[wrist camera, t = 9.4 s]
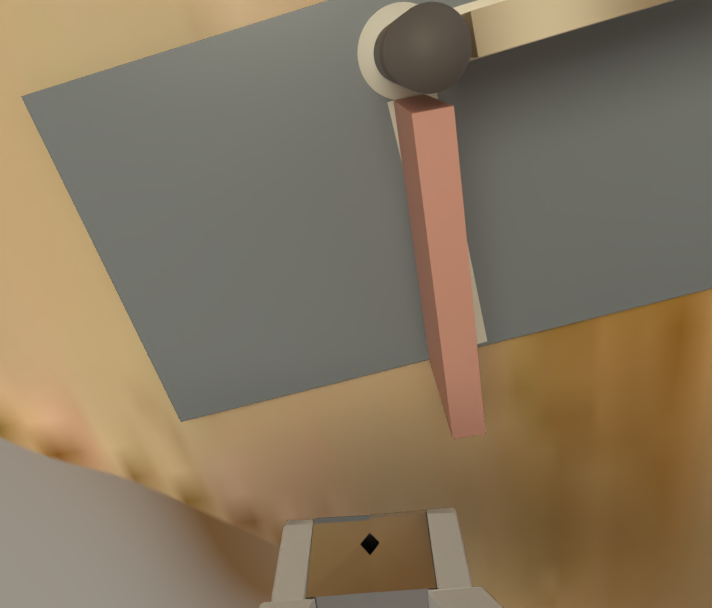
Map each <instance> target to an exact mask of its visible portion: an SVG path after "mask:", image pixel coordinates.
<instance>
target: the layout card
mask: <svg viewBox="0 0 712 608" xmlns="http://www.w3.org/2000/svg"><path fill="white" fill-rule="evenodd" d="M502 1H505V0H328V1H325V2H321V3H318V4H315V5H312V6H309V7H305V8H302V9H299V10H296V11H293V12H289V13H286V14H283V15H280V16H277V17H273V18H270V19H267V20H264V21H261V22H258V23H254V24H251V25H248V26H245V27H242V28H238V29H235V30H232V31H229V32H226V33H222V34H219V35H216V36H213V37H210V38H206V39H203V40H200V41H197V42H194V43H190V44H187V45H184V46H181V47H178V48H174V49H171V50H168V51H165V52H162V53H158V54H155V55H152V56H149V57H146V58H143V59H139V60H136V61H133V62H130V63H127V64H123V65H120V66H117V67H114V68H111V69H107V70H104V71H101V72H98V73H95V74H91V75H88V76H85V77H82V78H79V79H75V80H72V81H69V82H66V83H63V84H59V85H56V86H53V87H50V88H47V89H44V90H40V91H37V92H34V93H31V94H28V95H24V96H21V97H22V99H23V101H24V103H25V105H26V107H27V109H28V111H29V113H30V115H31V117H32V119H33V121H34V123H35V125H36V128H37V130H38V132H39V134H40V136H41V138H42V140H43V142H44V144H45V146H46V148H47V150H48V152H49V154H50V156H51V158H52V160H53V162H54V164H55V166H56V168H57V170H58V172H59V174H60V176H61V179H62V181H63V183H64V185H65V187H66V189H67V191H68V193H69V195H70V197H71V199H72V201H73V203H74V205H75V207H76V209H77V211H78V213H79V215H80V217H81V219H82V221H83V223H84V225H85V227H86V229H87V232H88V234H89V236H90V238H91V240H92V242H93V244H94V246H95V248H96V250H97V252H98V254H99V256H100V258H101V260H102V262H103V264H104V266H105V268H106V270H107V272H108V274H109V276H110V278H111V280H112V283H113V285H114V287H115V289H116V291H117V293H118V295H119V297H120V299H121V301H122V303H123V305H124V307H125V309H126V311H127V313H128V315H129V317H130V319H131V321H132V323H133V325H134V327H135V329H136V331H137V333H138V336H139V338H140V340H141V342H142V344H143V346H144V348H145V350H146V352H147V354H148V356H149V358H150V360H151V362H152V364H153V366H154V368H155V370H156V372H157V374H158V376H159V378H160V380H161V382H162V384H163V387H164V389H165V391H166V393H167V395H168V397H169V399H170V401H171V403H172V405H173V407H174V409H175V411H176V413H177V415H178V417H179V419H180V421H181V422H182V421H186V420H190V419H194V418H198V417H202V416H206V415H210V414H214V413H218V412H222V411H226V410H230V409H234V408H238V407H242V406H246V405H250V404H254V403H258V402H262V401H266V400H270V399H274V398H278V397H282V396H286V395H290V394H294V393H297V392H301V391H305V390H309V389H313V388H317V387H321V386H325V385H329V384H333V383H337V382H341V381H345V380H349V379H353V378H357V377H361V376H365V375H369V374H373V373H377V372H381V371H385V370H389V369H393V368H397V367H401V366H405V365H409V364H413V363H417V362H421V361H425V360H429V355H428V348H427V340H426V333H425V326H424V319H423V311H422V304H421V297H420V290H419V282H418V275H417V268H416V261H415V253H414V246H413V239H412V232H411V224H410V217H409V210H408V203H407V195H406V188H405V181H404V174H403V167H402V159H401V152H400V145H399V138H398V130H397V123H396V116H395V109H394V101H393V100H395V99H401V98H406V97H411V96H417V95H422V93H418V92H415V91H412V90H410V89H407V88H405V87H403V86H400V85H398V84H396V83H393V82H391V81H389V80H387V79H386V78H384V77H383V76H382V75H381V73H380V72H379V71H378V69H377V67H376V65H375V61H374V45H375V41H376V39H377V37H378V35H379V34H380V32H381V31H382V30H383V29H384V28H385V27H386V26H387V25H389V24H390V23H391V22H393V21H394V20H395V19H397V18H398V17H399V16H401V15H402V14H403V13H405V12H406V11H407V10H409V9H410V8H412V7H414V6H415V5H418V4H421V3H425V2H439V3H444V4H446V5H449V6H450V7H452V8H454V9H455V10H456V11H457V12H458V13H459V14H460V15H461V14H464V13H467V12H469V11H472V10H475V9H479V8H482V7H485V6H489V5H492V4H495V3H498V2H502ZM426 95H428V96H431V97H433V98H436V99H438V100H441V101H443V102H445V103H448V104H450V105H453V106H454V112H455V122H456V132H457V143H458V153H459V163H460V174H461V184H462V194H463V205H464V215H465V225H466V236H467V246H468V256H469V267H470V277H471V287H472V298H473V308H474V318H475V329H476V339H477V347H480V346H484V345H488V344H492V343H496V342H500V341H504V340H508V339H512V338H516V337H520V336H524V335H528V334H532V333H536V332H540V331H544V330H548V329H552V328H556V327H560V326H564V325H568V324H572V323H576V322H580V321H584V320H588V319H592V318H596V317H600V316H604V315H608V314H612V313H616V312H620V311H624V310H628V309H632V308H636V307H640V306H644V305H648V304H652V303H656V302H660V301H663V300H667V299H671V298H675V297H679V296H683V295H687V294H691V293H695V292H699V291H703V290H707V289H711V288H712V0H671V1H668V2H664V3H661V4H658V5H654V6H651V7H647V8H644V9H641V10H637V11H634V12H631V13H627V14H624V15H620V16H617V17H614V18H610V19H607V20H604V21H600V22H597V23H594V24H590V25H587V26H583V27H580V28H577V29H573V30H570V31H567V32H563V33H560V34H556V35H553V36H550V37H546V38H543V39H540V40H536V41H533V42H530V43H526V44H523V45H519V46H516V47H513V48H509V49H506V50H503V51H499V52H496V53H492V54H489V55H486V56H482V57H479V58H470V60H469V63H468V66H467V68H466V70H465V72H464V73H463V75H462V76H461V77H460V78H459V80H458V81H457V82H456V83H455V84H453V85H452V86H451V87H449V88H447V89H446V90H444V91H441V92H438V93H433V94H426Z"/></svg>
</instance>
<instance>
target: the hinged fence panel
mask: <svg viewBox="0 0 712 608" xmlns="http://www.w3.org/2000/svg"><path fill="white" fill-rule="evenodd" d="M393 101H394V109H395V116H396V123H397V130H398V138H399V145H400V152H401V159H402V167H403V174H404V181H405V188H406V195H407V203H408V210H409V217H410V224H411V232H412V239H413V246H414V253H415V261H416V268H417V275H418V282H419V290H420V297H421V304H422V311H423V319H424V326H425V333H426V340H427V348H428V355H429V360H430V363H431V367H432V370H433V373H434V377H435V380H436V384H437V387H438V390H439V394H440V397H441V401H442V404H443V407H444V411H445V414H446V418H447V421H448V424H449V428H450V431H451V434H452V438H453V439H456V438H462V437H469V436H475V435H481V434H486V432H485V422H484V411H483V401H482V391H481V380H480V370H479V360H478V349H477V339H476V329H475V318H474V308H473V298H472V287H471V277H470V267H469V256H468V246H467V236H466V225H465V215H464V205H463V194H462V184H461V174H460V163H459V153H458V143H457V132H456V122H455V112H454V106H453V105H450V104H448V103H445V102H443V101H441V100H438V99H436V98H433V97H431V96H428V95H426V94H422V95H417V96H411V97H406V98H401V99H395V100H393Z"/></svg>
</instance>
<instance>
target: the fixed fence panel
mask: <svg viewBox="0 0 712 608" xmlns="http://www.w3.org/2000/svg"><path fill="white" fill-rule="evenodd" d="M668 1H671V0H505V1H502V2H498V3H495V4H492V5H489V6H485V7H482V8H479V9H475V10H472V11H469V12H467V13H464V14H461V15H460V14H459V13H458V12H457V11H456V10H455V9H454V8H452V7H450V6H449V5H446V4H444V3H439V2H425V3H421V4H418V5H415V6H414V7H412V8H410V9H409V10H407V11H406V12H405V13H403V14H402V15H401V16H399V17H398V18H397V19H395V20H394V21H393V22H391V23H390V24H389V25H387V26H386V27H385V28H384V29H383V30H382V31H381V32H380V34H379V35H378V37H377V39H376V41H375V45H374V61H375V65H376V67H377V69H378V71H379V72H380V73H381V75H382V76H383V77H384V78H386V79H387V80H389V81H391V82H393V83H396V84H398V85H400V86H403V87H405V88H407V89H410V90H412V91H415V92H418V93H422V94H433V93H438V92H441V91H444V90H446V89H447V88H449V87H451V86H452V85H453V84H455V83H456V82H457V81H458V80H459V78H460V77H461V76H462V75H463V73H464V72H465V70H466V68H467V66H468V63H469V60H470V58H479V57H482V56H486V55H489V54H492V53H496V52H499V51H503V50H506V49H509V48H513V47H516V46H519V45H523V44H526V43H530V42H533V41H536V40H540V39H543V38H546V37H550V36H553V35H556V34H560V33H563V32H567V31H570V30H573V29H577V28H580V27H583V26H587V25H590V24H594V23H597V22H600V21H604V20H607V19H610V18H614V17H617V16H620V15H624V14H627V13H631V12H634V11H637V10H641V9H644V8H647V7H651V6H654V5H658V4H661V3H664V2H668Z"/></svg>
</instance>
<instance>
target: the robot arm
mask: <svg viewBox="0 0 712 608" xmlns="http://www.w3.org/2000/svg"><path fill="white" fill-rule="evenodd" d="M258 608H504V607H503V606H501V605H500V604H499V603H498V602H497V601H496V600H495V599H494V598H493V597H492V596H491V595H490V594H489V593H488V592H487V591H486V590H485V589H484V588H483V587H482V586H479V587H473V585H472V580H471V575H470V571H469V566H468V561H467V557H466V552H465V548H464V543H463V538H462V534H461V529H460V524H459V520H458V515H457V511H456V509H455V508H454V507H447V508H437V509H426V512H425V510H417V511H406V512H395V513H384V514H373V515H364V516H346V517H328V518H315V519H304V520H287V521H286V523H285V525H284V527H283V533H282V539H281V545H280V551H279V557H278V563H277V568H276V574H275V581H274V586H273V592H272V598H271V602H263V603H261V605H260V606H259V607H258Z"/></svg>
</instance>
